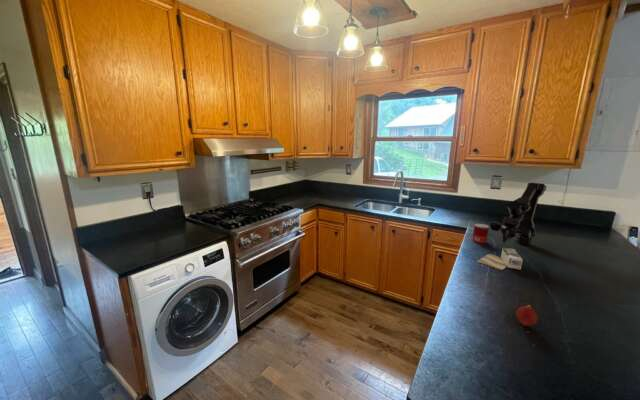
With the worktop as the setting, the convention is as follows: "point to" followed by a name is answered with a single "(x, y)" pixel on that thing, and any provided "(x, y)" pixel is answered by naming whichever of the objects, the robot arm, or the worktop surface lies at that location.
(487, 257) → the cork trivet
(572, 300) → the worktop surface
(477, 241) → the canned food
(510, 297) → the worktop surface
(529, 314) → the onion
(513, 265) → the syrup box
